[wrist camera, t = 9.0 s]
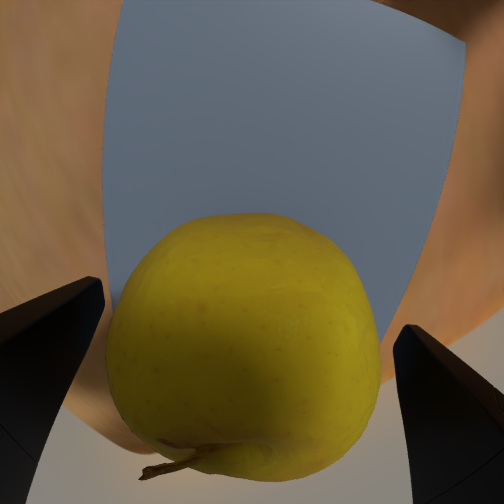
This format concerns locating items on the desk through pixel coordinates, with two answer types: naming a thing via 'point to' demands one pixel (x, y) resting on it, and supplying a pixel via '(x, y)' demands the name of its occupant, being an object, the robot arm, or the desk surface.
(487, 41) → the desk surface
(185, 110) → the book
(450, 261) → the desk surface
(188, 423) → the apple
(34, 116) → the desk surface
